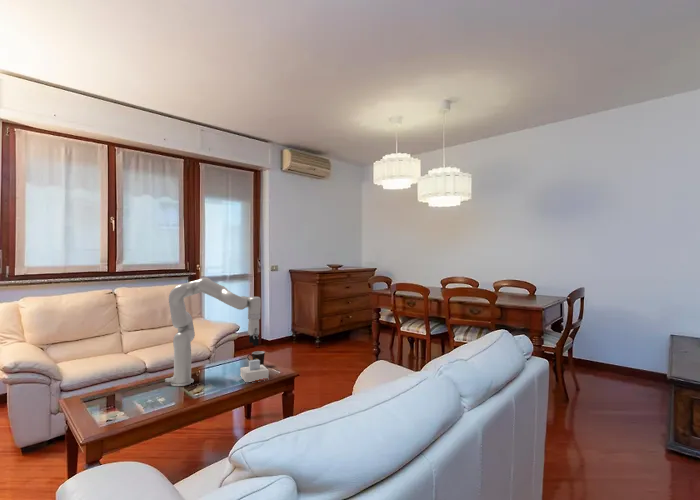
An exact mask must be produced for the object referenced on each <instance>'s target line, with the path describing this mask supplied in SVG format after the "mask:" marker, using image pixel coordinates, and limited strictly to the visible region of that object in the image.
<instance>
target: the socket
mask: <svg viewBox="0 0 700 500" xmlns="http://www.w3.org/2000/svg"><path fill="white" fill-rule="evenodd" d="M239 369H240V376H241V377H242V379H243V380H244V381H245V382H249V381H255V380H259V379H263V378H268V379H269V369H268V368H267V367H266V366H265V365H264V364H263V365H260V369H258V370H250V369H249V366H243V367H240V368H239ZM241 377H240V378H241ZM242 379H241V380H242ZM243 380H242V381H243ZM244 381H243V382H244ZM245 382H244V383H245Z"/></svg>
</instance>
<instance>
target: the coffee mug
mask: <svg viewBox="0 0 700 500" xmlns="http://www.w3.org/2000/svg"><path fill="white" fill-rule="evenodd" d="M265 353H266V351H260V350H257V351H252V352H251V353H250V354H248V355H247V356H246V357H247V360H248V362H249V361H250V360H251V359H250V358H249V356H251V357H252V360H257V359H259V360H260V365H264V362H265V355H266V354H265Z"/></svg>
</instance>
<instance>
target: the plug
mask: <svg viewBox="0 0 700 500" xmlns="http://www.w3.org/2000/svg"><path fill="white" fill-rule="evenodd" d="M249 360H250V361H249ZM249 360H248V367H249V369H250V370H258V369H260V360H259V359H257V360H253V359H249Z"/></svg>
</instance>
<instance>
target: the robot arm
mask: <svg viewBox="0 0 700 500" xmlns="http://www.w3.org/2000/svg"><path fill="white" fill-rule="evenodd" d="M200 293H203V294H206V295H208V296H210V297H212V298H214V299H216V300H218V301H220V302H221V303H224V304H226V305H227V306H230V307H232V308H234V309H236V310H239V311H241V310H245V309H246V308H247V309H248V310H247V319H248V326H247V334H248V335H249V338H248V339H249V343H252V346H254V347H257V346H259V334H260V320H261V309H262V308H261V304H262V300H261V299H262V298H261V297H260V296H244V295H241V296H239V295H238V294H235V293H234V292H231V291H230V290H229V289H228V288H227V287H225V286H223V285H221V284H219V283H216V282H215V281H214V280H212V279H211V278H210V277H201V278H199V279H196V280H192V281H188V282H186V283H180V284H177V285H175V287H174V288H173V289H172V290H171V291H170V293H169V295H168V303H169V312H170V319H171V323H172V326H173V327H174V329H177V332H175V334H174V336H173V340H172V343H173V375H172V376H171V377H167V378H165V379H164V381H165V383H166V382H167V383H170V385H171V386H172V387H184V386H188V385H192V384H193V383H194V381H195V380H194V378H192V346H191V345H192V343H191V342H192V341H193V340H194V339H195V335H196V334H195V327H194V322H193V317H192V315H191V313H190V312H188V311H187V309H186V304H185V298H188V297H190V296H194V295H196V294H197V295H198V294H200ZM191 383H192V384H191Z"/></svg>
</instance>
